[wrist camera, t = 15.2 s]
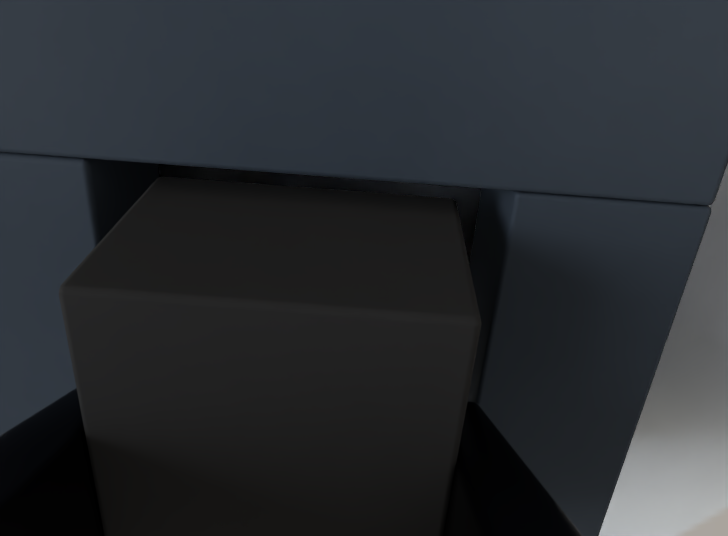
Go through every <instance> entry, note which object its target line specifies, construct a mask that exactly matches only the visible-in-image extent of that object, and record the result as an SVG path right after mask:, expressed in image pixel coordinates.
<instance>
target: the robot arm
mask: <svg viewBox="0 0 728 536" xmlns="http://www.w3.org/2000/svg"><path fill="white" fill-rule="evenodd" d="M0 536H105V535H104V530H103V525H102V519H101V514H100V509H99V504H98V498H97V493H96V488H95V483H94V477H93V472H92V467H91V462H90V456H89V451H88V446H87V441H86V435H85V430H84V425H83V420H82V414H81V409H80V404H79V398H78V393H77V388H75V389H74V390H72V391H71V392H69V393H67V394H66V395H64V396H63V397H61V398H59V399H58V400H56V401H55V402H53V403H51V404H50V405H48V406H47V407H45V408H43V409H42V410H40V411H39V412H37V413H35V414H34V415H32V416H31V417H29V418H27V419H26V420H24V421H23V422H21V423H19V424H18V425H16V426H15V427H13V428H11V429H10V430H8V431H7V432H5V433H3V434H2V435H0ZM443 536H583V535H582V534H581V533H580V531H579V530H578V529H577V528H576V526H575V525H574V524H573V523H572V521H571V520H570V519H569V518H568V516H567V515H566V514H565V513H564V511H563V510H562V509H561V508H560V506H559V505H558V504H557V503H556V501H555V500H554V499H553V498H552V496H551V495H550V494H549V493H548V491H547V490H546V489H545V488H544V486H543V485H542V484H541V483H540V481H539V480H538V479H537V478H536V476H535V475H534V474H533V473H532V471H531V470H530V469H529V468H528V466H527V465H526V464H525V463H524V461H523V460H522V459H521V458H520V456H519V455H518V454H517V453H516V451H515V450H514V449H513V447H512V446H511V445H510V444H509V442H508V441H507V440H506V439H505V437H504V436H503V435H502V434H501V432H500V431H499V430H498V429H497V427H496V426H495V425H494V424H493V422H492V421H491V420H490V419H489V417H488V416H487V415H486V414H485V412H484V411H483V410H482V409H481V407H480V406H479V405H478V404H476V403H475V402H470V401H467V407H466V412H465V418H464V423H463V429H462V435H461V440H460V446H459V451H458V457H457V462H456V465H455V471H454V476H453V482H452V487H451V493H450V498H449V504H448V510H447V515H446V521H445V526H444V532H443Z"/></svg>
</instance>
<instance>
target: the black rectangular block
mask: <svg viewBox="0 0 728 536" xmlns="http://www.w3.org/2000/svg"><path fill="white" fill-rule="evenodd" d="M59 299H60V304H61V309H62V314H63V320H64V325H65V330H66V335H67V341H68V346H69V351H70V356H71V362H72V367H73V372H74V377H75V383H76V388H77V393H78V398H79V404H80V409H81V414H82V420H83V425H84V430H85V435H86V441H87V446H88V451H89V456H90V462H91V467H92V472H93V477H94V483H95V488H96V493H97V498H98V504H99V509H100V514H101V519H102V525H103V530H104V535H105V536H443V532H444V526H445V521H446V515H447V510H448V504H449V498H450V493H451V487H452V482H453V476H454V471H455V465H456V462H457V457H458V451H459V446H460V440H461V435H462V429H463V423H464V418H465V412H466V407H467V401H468V396H469V390H470V385H471V379H472V374H473V368H474V362H475V357H476V351H477V346H478V340H479V335H480V329H481V324H482V323H481V319H480V314H479V309H478V304H477V299H476V294H475V290H474V285H473V280H472V275H471V270H470V266H469V261H468V256H467V251H466V246H465V241H464V237H463V232H462V227H461V222H460V217H459V213H458V208H457V204H456V201H455V200H453V199H451V198H439V197H425V196H412V195H399V194H386V193H373V192H359V191H346V190H333V189H320V188H307V187H293V186H280V185H267V184H254V183H241V182H227V181H214V180H201V179H188V178H175V177H159V178H157V179H156V180H155V181H154V182H153V183H152V185H151V186H150V187H149V188H148V189H147V190H146V191H145V192H144V193H143V195H142V196H141V197H140V198H139V199H138V200H137V201H136V202H135V203H134V205H133V206H132V207H131V208H130V209H129V210H128V211H127V212H126V213H125V215H124V216H123V217H122V218H121V219H120V220H119V221H118V222H117V223H116V225H115V226H114V227H113V228H112V229H111V230H110V231H109V232H108V233H107V234H106V236H105V237H104V238H103V239H102V240H101V241H100V242H99V243H98V244H97V246H96V247H95V248H94V249H93V250H92V251H91V252H90V253H89V254H88V256H87V257H86V258H85V259H84V260H83V261H82V262H81V263H80V264H79V266H78V267H77V268H76V269H75V270H74V271H73V272H72V273H71V274H70V276H69V277H68V278H67V279H66V280H65V281H64V282H63V283H62V284H61V286H60V289H59Z"/></svg>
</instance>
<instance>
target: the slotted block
mask: <svg viewBox="0 0 728 536" xmlns="http://www.w3.org/2000/svg"><path fill="white" fill-rule="evenodd" d="M727 163H728V0H0V435H2V434H3V433H5V432H7V431H8V430H10V429H11V428H13V427H15V426H16V425H18V424H19V423H21V422H23V421H24V420H26V419H27V418H29V417H31V416H32V415H34V414H35V413H37V412H39V411H40V410H42V409H43V408H45V407H47V406H48V405H50V404H51V403H53V402H55V401H56V400H58V399H59V398H61V397H63V396H64V395H66V394H67V393H69V392H71V391H72V390H74V389H75V388H76V383H75V377H74V372H73V367H72V362H71V356H70V351H69V346H68V341H67V335H66V330H65V325H64V320H63V314H62V309H61V304H60V299H59V289H60V286H61V284H62V283H63V282H64V281H65V280H66V279H67V278H68V277H69V276H70V274H71V273H72V272H73V271H74V270H75V269H76V268H77V267H78V266H79V264H80V263H81V262H82V261H83V260H84V259H85V258H86V257H87V256H88V254H89V253H90V252H91V251H92V250H93V249H94V248H95V247H96V246H97V244H98V243H99V242H100V241H101V240H102V239H103V238H104V237H105V236H106V234H107V233H108V232H109V231H110V230H111V229H112V228H113V227H114V226H115V225H116V223H117V222H118V221H119V220H120V219H121V218H122V217H123V216H124V215H125V213H126V212H127V211H128V210H129V209H130V208H131V207H132V206H133V205H134V203H135V202H136V201H137V200H138V199H139V198H140V197H141V196H142V195H143V193H144V192H145V191H146V190H147V189H148V188H149V187H150V186H151V185H152V183H153V182H154V181H155V180H156V179H157V178H159V170H158V164H169V165H182V166H195V167H208V168H221V169H234V170H248V171H261V172H274V173H287V174H300V175H314V176H327V177H340V178H353V179H366V180H379V181H393V182H406V183H419V184H432V185H445V186H458V187H472V188H481V194H480V201H479V207H478V213H477V219H476V226H475V232H474V238H473V244H472V250H471V257H470V263H469V266H470V270H471V275H472V280H473V285H474V290H475V294H476V299H477V304H478V309H479V314H480V319H481V323H482V324H481V329H480V335H479V340H478V346H477V351H476V357H475V362H474V368H473V374H472V379H471V385H470V390H469V396H468V401H470V402H475V403H476V404H478V405H479V406H480V407H481V409H482V410H483V411H484V412H485V414H486V415H487V416H488V417H489V419H490V420H491V421H492V422H493V424H494V425H495V426H496V427H497V429H498V430H499V431H500V432H501V434H502V435H503V436H504V437H505V439H506V440H507V441H508V442H509V444H510V445H511V446H512V447H513V449H514V450H515V451H516V453H517V454H518V455H519V456H520V458H521V459H522V460H523V461H524V463H525V464H526V465H527V466H528V468H529V469H530V470H531V471H532V473H533V474H534V475H535V476H536V478H537V479H538V480H539V481H540V483H541V484H542V485H543V486H544V488H545V489H546V490H547V491H548V493H549V494H550V495H551V496H552V498H553V499H554V500H555V501H556V503H557V504H558V505H559V506H560V508H561V509H562V510H563V511H564V513H565V514H566V515H567V516H568V518H569V519H570V520H571V521H572V523H573V524H574V525H575V526H576V528H577V529H578V530H579V531H580V533H581V534H582V535H583V536H598V535H599V532H600V529H601V526H602V523H603V520H604V518H605V515H606V512H607V509H608V506H609V503H610V500H611V498H612V495H613V492H614V489H615V486H616V483H617V480H618V478H619V475H620V472H621V469H622V466H623V463H624V460H625V458H626V455H627V452H628V449H629V446H630V443H631V440H632V438H633V435H634V432H635V429H636V426H637V423H638V420H639V418H640V415H641V412H642V409H643V406H644V403H645V400H646V397H647V395H648V392H649V389H650V386H651V383H652V380H653V377H654V375H655V372H656V369H657V366H658V363H659V360H660V357H661V355H662V352H663V349H664V346H665V343H666V340H667V337H668V335H669V332H670V329H671V326H672V323H673V320H674V317H675V315H676V312H677V309H678V306H679V303H680V300H681V297H682V295H683V292H684V289H685V286H686V283H687V280H688V277H689V275H690V272H691V269H692V266H693V263H694V260H695V257H696V254H697V252H698V249H699V246H700V243H701V240H702V237H703V234H704V232H705V229H706V226H707V223H708V220H709V217H710V214H711V208H710V207H709V206H708V205H710V204H712V203H713V202H714V200H715V197H716V194H717V192H718V189H719V186H720V183H721V180H722V177H723V174H724V172H725V169H726V166H727Z"/></svg>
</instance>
